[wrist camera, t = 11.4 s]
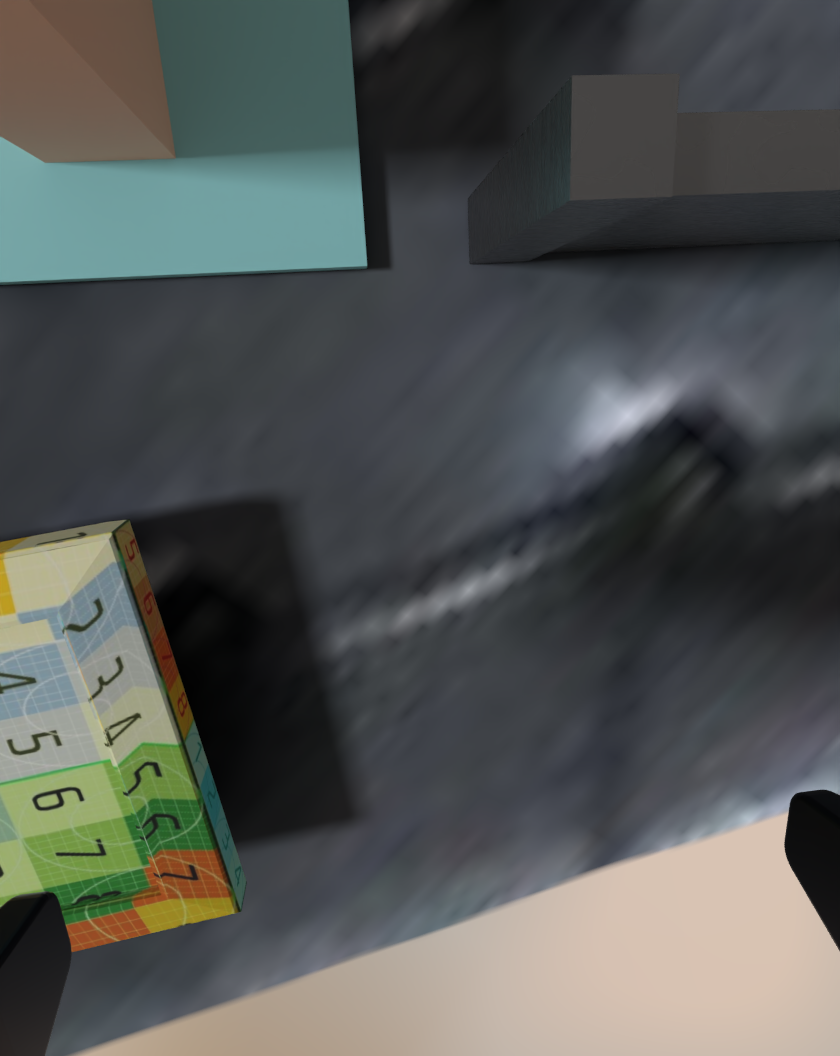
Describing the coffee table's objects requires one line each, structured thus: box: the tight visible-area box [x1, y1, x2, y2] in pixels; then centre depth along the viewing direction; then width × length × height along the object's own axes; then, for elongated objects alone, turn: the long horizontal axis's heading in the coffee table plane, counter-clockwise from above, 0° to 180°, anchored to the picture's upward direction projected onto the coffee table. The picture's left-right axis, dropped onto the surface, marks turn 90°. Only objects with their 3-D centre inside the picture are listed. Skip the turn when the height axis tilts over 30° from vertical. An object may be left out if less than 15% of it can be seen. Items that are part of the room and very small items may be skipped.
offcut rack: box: [468, 74, 840, 264], centre depth 13 cm, size 12×2×8 cm, turn 93°
